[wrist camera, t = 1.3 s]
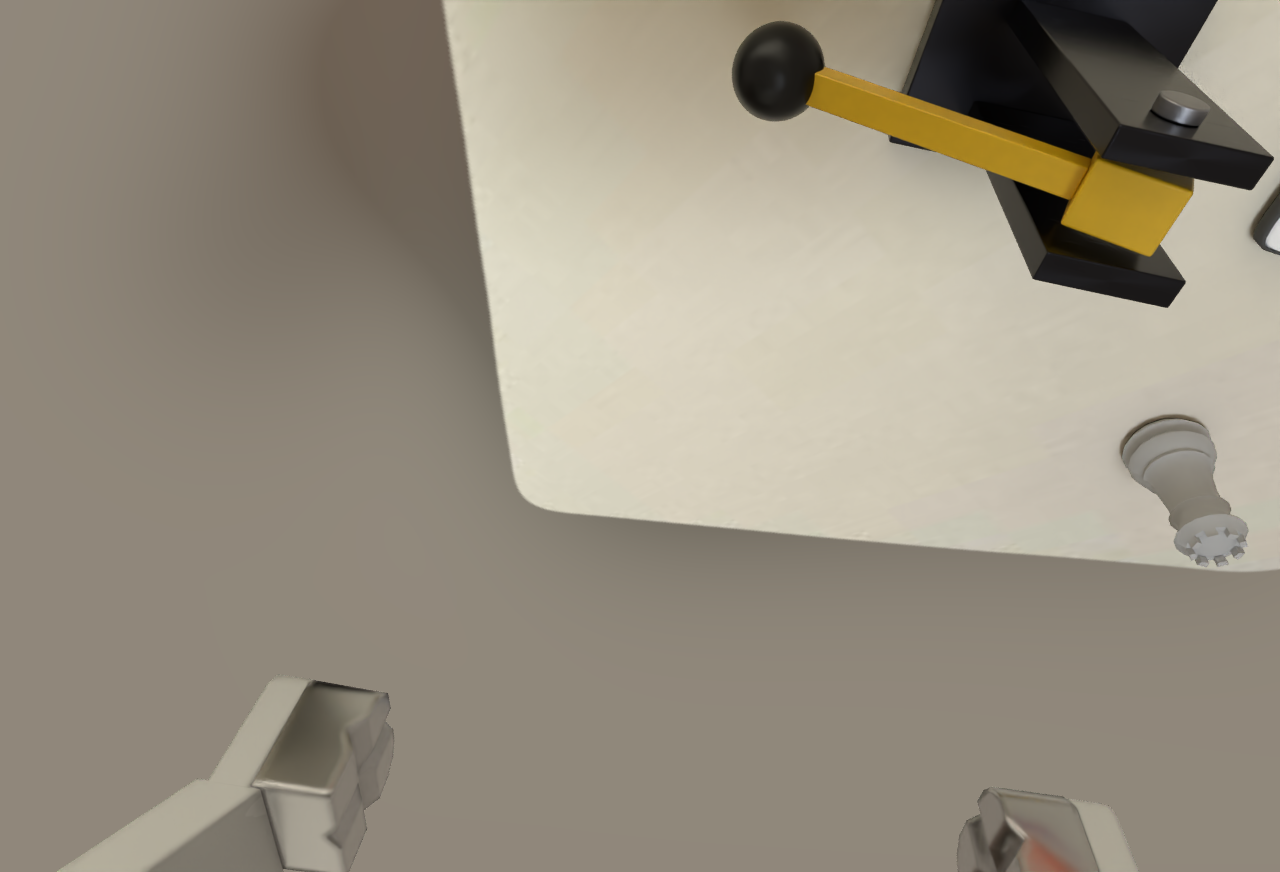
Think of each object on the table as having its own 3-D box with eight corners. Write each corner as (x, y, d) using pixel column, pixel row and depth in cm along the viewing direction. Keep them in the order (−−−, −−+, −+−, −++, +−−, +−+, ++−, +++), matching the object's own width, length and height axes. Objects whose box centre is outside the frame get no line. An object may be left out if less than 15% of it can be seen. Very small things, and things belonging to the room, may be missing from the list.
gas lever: (744, 92, 31) (708, 114, 29) (766, 2, 29) (728, 18, 27) (1146, 239, 27) (1140, 278, 25) (1206, 146, 25) (1205, 180, 23)
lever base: (886, 132, 37) (926, 301, 27) (960, -67, 32) (1047, 45, 21) (1099, 178, 37) (1223, 364, 27) (1209, -13, 32) (1419, 126, 21)
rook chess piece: (1121, 478, 49) (1167, 585, 43) (1117, 423, 46) (1166, 529, 40) (1207, 463, 47) (1268, 572, 41) (1208, 405, 45) (1274, 512, 39)
